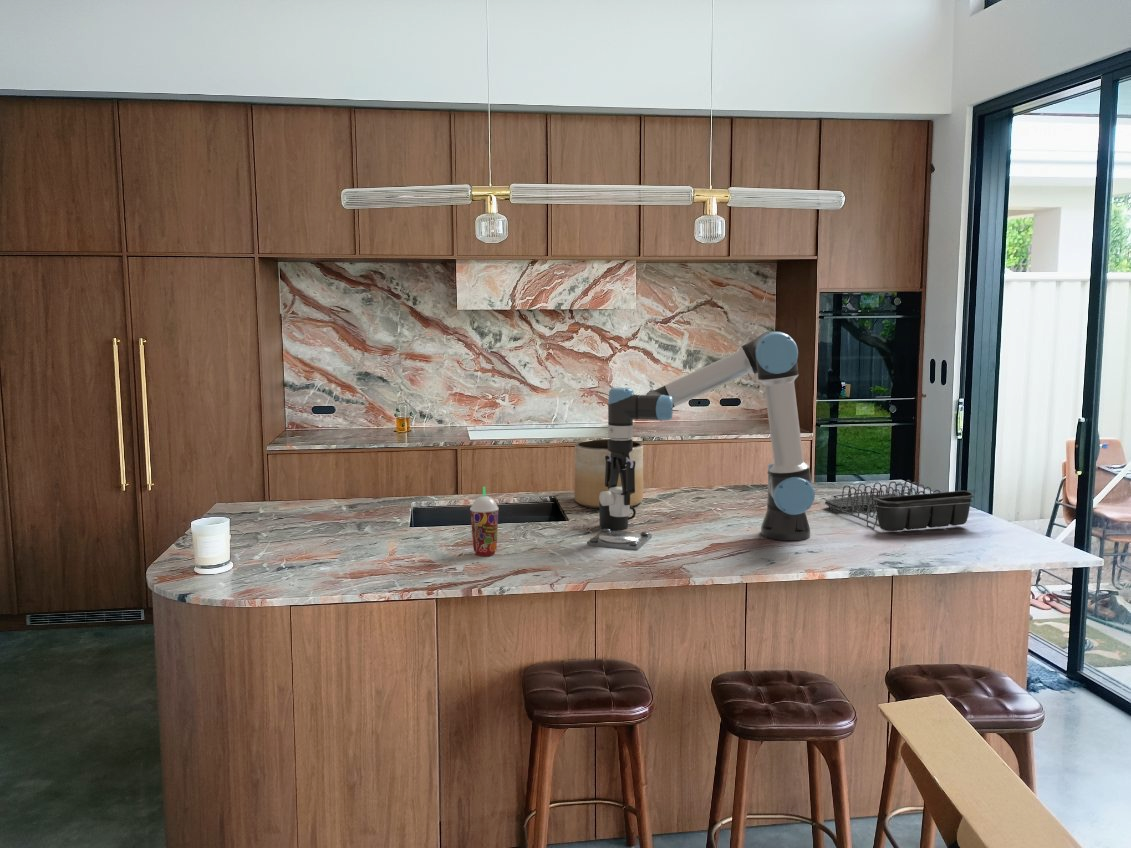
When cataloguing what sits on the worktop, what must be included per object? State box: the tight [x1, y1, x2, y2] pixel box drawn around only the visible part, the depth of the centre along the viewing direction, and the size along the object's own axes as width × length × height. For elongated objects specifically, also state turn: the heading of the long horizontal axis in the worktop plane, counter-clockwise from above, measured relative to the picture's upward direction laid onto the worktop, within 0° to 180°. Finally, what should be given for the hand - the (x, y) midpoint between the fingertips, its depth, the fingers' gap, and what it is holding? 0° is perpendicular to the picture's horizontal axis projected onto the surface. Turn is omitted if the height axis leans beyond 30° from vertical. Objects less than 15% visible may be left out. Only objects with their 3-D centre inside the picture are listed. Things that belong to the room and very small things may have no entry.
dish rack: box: [824, 479, 975, 532], centre depth 303 cm, size 34×44×12 cm
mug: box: [598, 500, 637, 531], centre depth 292 cm, size 9×12×9 cm
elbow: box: [599, 487, 630, 517], centre depth 273 cm, size 9×7×8 cm
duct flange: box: [586, 528, 653, 551], centre depth 275 cm, size 16×16×2 cm
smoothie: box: [469, 486, 500, 557], centre depth 260 cm, size 8×8×20 cm
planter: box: [573, 438, 644, 510], centre depth 328 cm, size 25×25×22 cm
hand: (619, 512), depth 274 cm, fingers closed on elbow, 6 cm apart
